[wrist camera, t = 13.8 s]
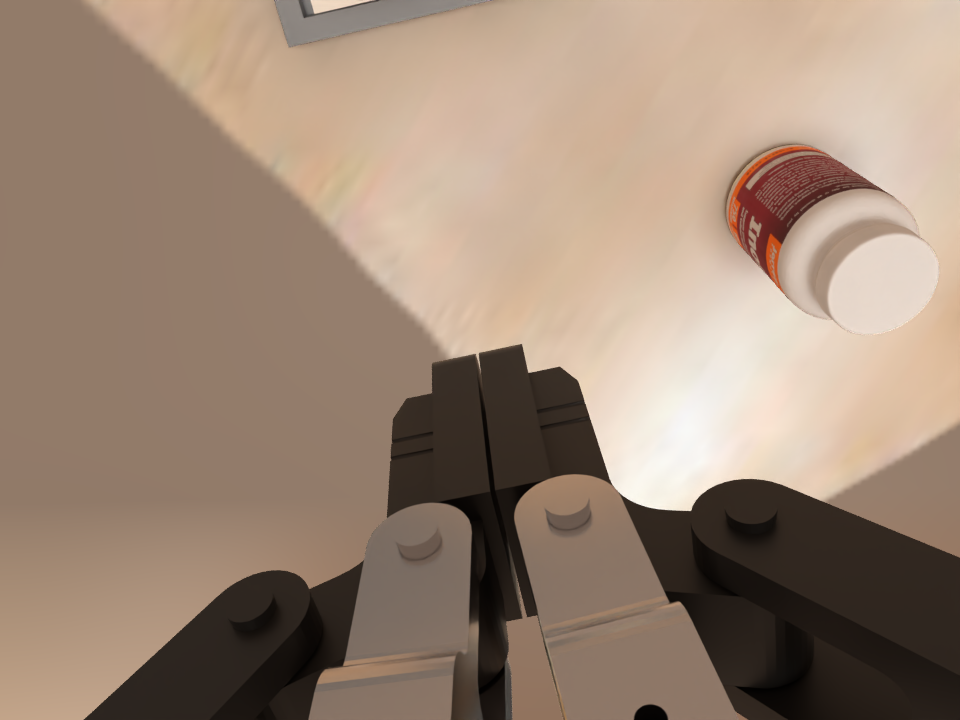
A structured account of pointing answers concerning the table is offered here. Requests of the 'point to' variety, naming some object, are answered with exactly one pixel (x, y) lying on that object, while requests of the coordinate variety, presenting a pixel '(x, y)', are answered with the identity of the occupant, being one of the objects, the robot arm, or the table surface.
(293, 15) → the switch board
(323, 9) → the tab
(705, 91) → the table surface
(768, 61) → the table surface
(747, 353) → the table surface
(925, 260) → the pill bottle
